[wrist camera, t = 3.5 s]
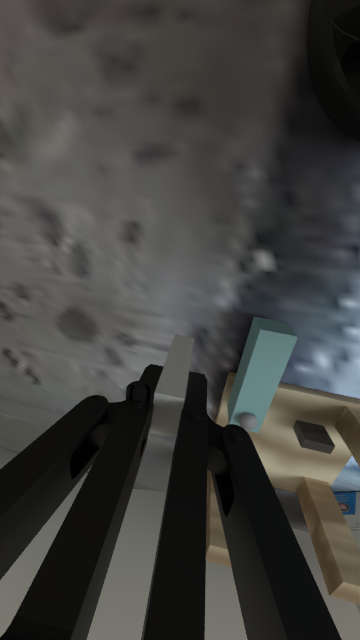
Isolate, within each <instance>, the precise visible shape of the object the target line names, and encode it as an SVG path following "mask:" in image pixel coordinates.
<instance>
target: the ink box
mask: <svg viewBox="0 0 360 640" xmlns="http://www.w3.org/2000/svg"><path fill="white" fill-rule="evenodd" d="M334 496H335V498H336V500H337V502H338V504H339V506H340V509H341V511H342V513H343V515H344V517H345V519H346V522H347V524H348V526H349V528H350V530H351V532H352V535H353V537H354V539H355V541H356V543H357V545H358V548H359V550H360V492H346V493H345V492H344V493H334ZM356 606H357V608H358V611H359V614H360V604H357V603H356Z"/></svg>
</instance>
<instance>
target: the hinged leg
mask: <svg viewBox="0 0 360 640" xmlns="http://www.w3.org/2000/svg"><path fill="white" fill-rule="evenodd" d="M297 338H298V336H297V335H296V333H295V332H294V331H293V330H292V329H291V327H290V326H289V325H288V324H287V323H286V322H281V321H276V320H270V319H265V318H260V317H254V318H253V321H252V325H251V328H250V331H249V335H248V338H247V341H246V344H245V348H244V351H243V354H242V357H241V361H240V364H239V367H238V370H237V374H236V377H235V380H234V384H233V387H232V390H231V393H230V397H229V400H228V403H227V410H228V423H229V424H235V425H239V426H241V427H243V428H244V429H245V430H247V431H252V432H256V433H259V431H260V428H261V426H262V423H263V421H264V419H265V416H266V414H267V411H268V409H269V406H270V404H271V402H272V399H273V397H274V394H275V392H276V389H277V387H278V385H279V382H280V380H281V377H282V375H283V372H284V370H285V368H286V365H287V363H288V360H289V358H290V355H291V353H292V350H293V348H294V346H295V343H296V341H297Z"/></svg>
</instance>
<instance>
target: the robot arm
mask: <svg viewBox="0 0 360 640" xmlns="http://www.w3.org/2000/svg"><path fill="white" fill-rule="evenodd" d="M308 57H309V65H310V71H311V76H312V80H313V84H314V87H315V90H316V93H317V95H318V98H319V100H320V102H321V104H322V106H323V108H324V109H325V111H326V112H327V114H328V115H329V117H330V118H331V119H332V120H333V121H334V123H335V124H336V125H337V126H338V127H339V128H341V129H342V130H343V131H344V132H346V133H347V134H349V135H350V136H352V137H354V138H356V139H358V140H360V0H312V1H311V6H310V14H309V24H308ZM193 344H194V338H190V337H185V336H180V335H175V337H174V340H173V342H172V345H171V348H170V351H169V354H168V356H167V359H166V362H165V365H164V367H163V366H158V365H153V364H150V365H149V366H147V367H146V368H145V370H144V372H143V374H142V376H141V378H140V380H139V381H135V382H132V383H130V384H129V385H128V386H127V391H126V400H125V401H122V402H115V403H108V400H107V399H106V398H105V397H104V396H100V395H93V396H89V397H87V398H85V399H84V400H82V401H81V402H80V403H79V404H77V405H76V406H75V407H74V408H73V409H72V410H70V411H69V412H68V413H67V414H66V415H64V416H63V417H62V418H61V419H60V420H58V421H57V422H56V423H55V424H54V425H52V426H51V427H50V428H49V429H48V430H47V431H45V432H44V433H43V434H42V435H41V436H39V437H38V438H37V439H36V440H35V441H33V442H32V443H31V444H30V445H29V446H28V447H26V448H25V449H24V450H23V451H22V452H20V453H19V454H18V455H17V456H16V457H14V458H13V459H12V460H11V461H10V462H9V463H7V464H6V465H5V466H4V467H3V468H1V469H0V580H1V578H2V577H3V576H4V575H5V573H6V572H7V571H8V570H9V569H10V567H11V566H12V565H13V563H14V562H15V561H16V559H17V558H18V557H19V556H20V555H21V553H22V552H23V551H24V550H25V548H26V547H27V546H28V545H29V543H30V542H31V541H32V540H33V538H34V537H35V536H36V535H37V533H38V532H39V531H40V529H41V528H42V527H43V526H44V525H45V523H46V522H47V521H48V520H49V518H50V517H51V516H52V514H53V513H54V512H55V511H56V509H57V508H58V507H59V506H60V504H61V503H62V502H63V501H64V499H65V498H66V497H67V496H68V494H69V493H70V492H71V491H72V489H73V488H74V487H75V486H76V484H77V483H78V482H79V481H80V479H81V478H82V477H83V476H84V474H85V473H86V472H87V471H88V469H89V468H90V467H91V465H92V464H93V465H92V467H91V469H90V471H89V473H88V475H87V477H86V479H85V481H84V483H83V485H82V487H81V489H80V491H79V492H78V494H77V496H76V498H75V500H74V502H73V504H72V506H71V508H70V510H69V512H68V514H67V516H66V518H65V520H64V522H63V524H62V526H61V527H60V530H59V531H58V533H57V535H56V537H55V539H54V541H53V543H52V545H51V547H50V549H49V551H48V553H47V555H46V557H45V559H44V561H43V563H42V564H41V566H40V568H39V570H38V572H37V574H36V576H35V578H34V580H33V582H32V584H31V586H30V588H29V590H28V592H27V594H26V596H25V598H24V600H23V602H22V604H21V606H20V607H19V609H18V611H17V613H16V615H15V617H14V619H13V621H12V623H11V624H10V626H9V627H8V629H7V630H6V632H5V633H4V634H3V635H2V636H1V637H0V640H86V639H87V636H88V633H89V629H90V626H91V623H92V620H93V616H94V613H95V610H96V607H97V603H98V600H99V597H100V593H101V590H102V587H103V584H104V580H105V577H106V574H107V571H108V567H109V564H110V561H111V558H112V554H113V550H114V548H115V544H116V541H117V538H118V535H119V532H120V528H121V524H122V521H123V518H124V515H125V512H126V509H127V505H128V502H129V499H130V496H131V492H132V489H133V486H134V483H135V479H136V476H137V473H138V470H139V466H140V463H141V460H142V456H143V453H144V450H145V447H146V443H147V437H148V433H154V434H158V435H163V436H167V437H171V438H176V443H175V448H174V453H173V458H172V459H173V460H172V465H171V471H170V477H169V483H168V488H167V494H166V500H165V506H164V511H163V517H162V523H161V529H160V534H159V540H158V546H157V552H156V558H155V563H154V569H153V575H152V581H151V586H150V592H149V598H148V603H147V609H146V615H145V621H144V626H143V632H142V638H141V640H204V631H205V572H206V571H205V570H206V515H207V469H208V470H209V471H211V476H212V481H213V485H214V490H215V494H216V499H217V503H218V508H219V512H220V517H221V521H222V526H223V530H224V535H225V539H226V544H227V548H228V553H229V557H230V562H231V567H232V570H233V575H234V580H235V584H236V589H237V593H238V598H239V603H240V607H241V612H242V616H243V620H244V625H245V630H246V634H247V639H248V640H341V637H340V635H339V633H338V631H337V628H336V626H335V624H334V622H333V620H332V617H331V615H330V613H329V611H328V608H327V606H326V604H325V602H324V600H323V597H322V595H321V593H320V591H319V588H318V586H317V584H316V582H315V580H314V577H313V575H312V573H311V571H310V568H309V566H308V564H307V562H306V559H305V557H304V555H303V553H302V550H301V548H300V546H299V544H298V542H297V540H296V537H295V535H294V533H293V530H292V528H291V526H290V524H289V522H288V519H287V517H286V515H285V513H284V510H283V508H282V506H281V504H280V502H279V499H278V497H277V495H276V493H275V490H274V488H273V486H272V484H271V481H270V479H269V477H268V475H267V473H266V470H265V468H264V466H263V464H262V461H261V459H260V457H259V455H258V453H257V450H256V448H255V446H254V444H253V441H252V439H251V437H250V435H249V434H248V432H247V431H246V430H245V429H244V428H243V427H241V426H239V425H235V424H228V425H226V426H225V427H222V426H220V425H218V424H217V423H215V422H214V421H212V420H211V419H210V417H209V416H208V414H207V410H206V408H207V379H206V377H205V375H204V374H200V373H195V372H190V371H189V370H190V363H191V357H192V351H193ZM149 430H150V432H149Z"/></svg>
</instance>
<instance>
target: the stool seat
mask: <svg viewBox="0 0 360 640" xmlns="http://www.w3.org/2000/svg"><path fill="white" fill-rule="evenodd" d="M236 374H237V373H233V372H229V374H228V377H227V381H226V384H225V388H224V391H223V395H222V398H221V402H220V405H219V409H218V412H217V416H216V419H215V423H217V424H218V425H220V426H222V427H225V426H226V425H228V424H229V423H228V410H227V403H228V400H229V397H230V393H231V390H232V387H233V384H234V380H235V377H236ZM246 431H247V430H246ZM247 432H248V434H249V435H250V437H251V439H252V441H253V444H254V446H255V448H256V450H257V453H258V455H259V457H260V459H261V461H262V464H263V466H264V468H265V470H266V473H267V475H268V477H269V479H270V481H271V484H272V486H273V487H274V488H278V489H282V490H286V491H290V492H294V493H297V496H298V499H299V502H300V505H301V508H302V512H303V515H304V518H305V521H306V524H307V527H308V530H309V533H310V537H311V540H312V543H313V546H314V549H315V552H316V555H317V559H318V561H319V565H320V568H321V571H322V574H323V577H324V580H325V584H326V587H327V590H328V593H329V596H332V597H336V598H339V599H343V600H346V601H350V602H353V603H357V604H360V550H359V548H358V545H357V543H356V541H355V539H354V537H353V535H352V532H351V530H350V528H349V526H348V524H347V522H346V519H345V517H344V515H343V513H342V511H341V509H340V506H339V504H338V502H337V500H336V498H335V496H334V493H333V491H332V489H331V487H330V486H331V485H332V483H333V482H334V480H335V479H336V478H337V476H338V475H339V473H340V472H341V470H342V469H343V468H344V466H345V465H346V463H347V462H348V460H349V459H350V457H351V456H352V455H353V457H354V458H355V460H356V462H357V463H358V465H359V466H360V399H357V398H352V397H347V396H342V395H338V394H333V393H328V392H323V391H319V390H314V389H309V388H304V387H300V386H295V385H290V384H285V383H281V382H279V385H278V387H277V389H276V392H275V394H274V397H273V399H272V402H271V404H270V406H269V409H268V411H267V414H266V416H265V419H264V421H263V423H262V426H261V428H260V431H259V433H256V432H252V431H247ZM206 561H209V562H213V563H216V564H220V565H223V566H227V567H230V568H232V567H231V562H230V557H229V553H228V548H227V544H226V539H225V535H224V530H223V526H222V521H221V517H220V512H219V508H218V503H217V499H216V494H215V490H214V485H213V481H212V476H211V471H209V470H208V469H207V515H206Z"/></svg>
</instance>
